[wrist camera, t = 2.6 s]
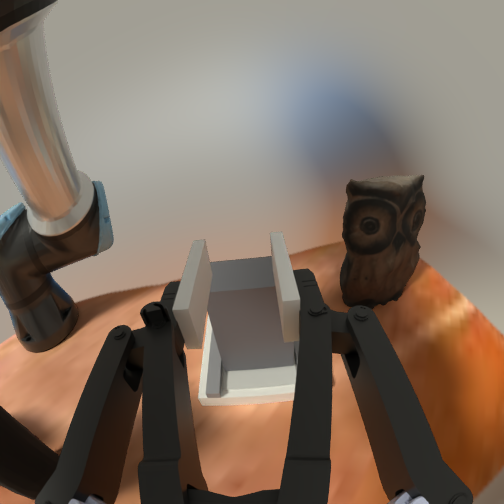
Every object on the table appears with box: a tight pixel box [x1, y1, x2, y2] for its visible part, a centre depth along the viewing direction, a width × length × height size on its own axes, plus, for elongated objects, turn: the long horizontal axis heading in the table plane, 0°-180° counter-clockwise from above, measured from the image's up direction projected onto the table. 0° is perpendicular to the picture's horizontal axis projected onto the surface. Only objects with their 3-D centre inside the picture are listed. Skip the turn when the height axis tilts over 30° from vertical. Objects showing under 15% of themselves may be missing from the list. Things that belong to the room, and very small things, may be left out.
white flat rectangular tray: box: [198, 315, 300, 406], centre depth 37 cm, size 22×14×3 cm, turn 2°
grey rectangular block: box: [207, 256, 294, 371], centre depth 29 cm, size 5×8×12 cm, turn 92°
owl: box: [340, 175, 426, 309], centre depth 37 cm, size 13×13×20 cm
